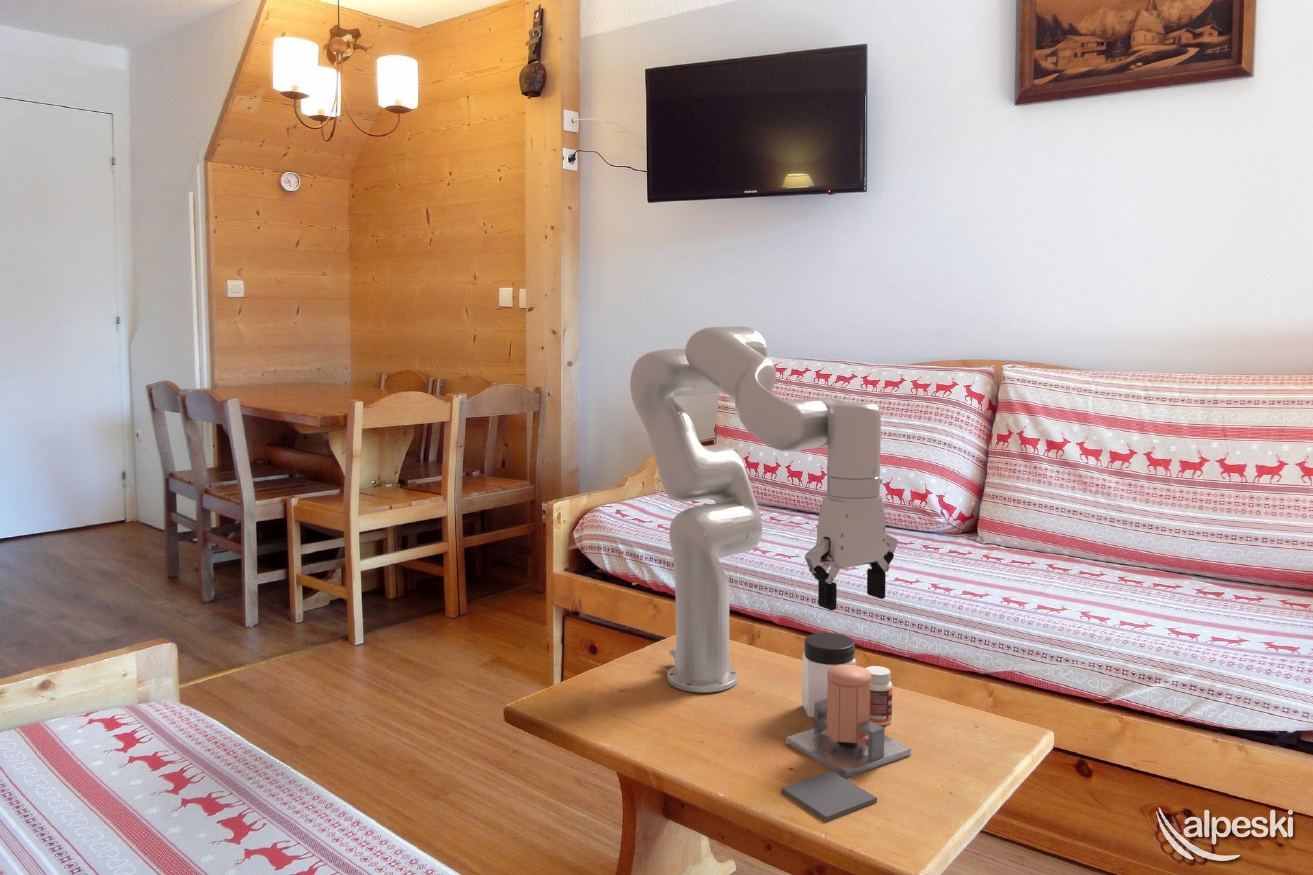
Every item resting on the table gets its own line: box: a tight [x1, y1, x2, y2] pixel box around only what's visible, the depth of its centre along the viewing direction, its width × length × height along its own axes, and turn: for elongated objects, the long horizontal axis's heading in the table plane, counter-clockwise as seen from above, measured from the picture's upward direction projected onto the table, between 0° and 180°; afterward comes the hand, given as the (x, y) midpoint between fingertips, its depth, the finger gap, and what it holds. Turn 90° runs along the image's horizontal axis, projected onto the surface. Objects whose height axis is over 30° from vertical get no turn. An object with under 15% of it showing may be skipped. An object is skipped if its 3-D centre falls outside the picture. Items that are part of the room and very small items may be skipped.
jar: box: [801, 632, 857, 718], centre depth 154 cm, size 9×8×12 cm
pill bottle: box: [865, 665, 894, 727], centre depth 151 cm, size 5×5×8 cm
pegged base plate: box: [786, 699, 912, 779], centre depth 141 cm, size 13×13×11 cm
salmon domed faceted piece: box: [823, 665, 871, 746], centre depth 140 cm, size 9×6×10 cm
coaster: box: [781, 770, 878, 822], centre depth 127 cm, size 9×9×1 cm
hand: (852, 602), depth 138 cm, fingers open, 9 cm apart
